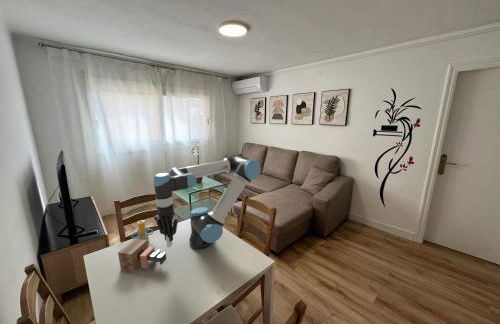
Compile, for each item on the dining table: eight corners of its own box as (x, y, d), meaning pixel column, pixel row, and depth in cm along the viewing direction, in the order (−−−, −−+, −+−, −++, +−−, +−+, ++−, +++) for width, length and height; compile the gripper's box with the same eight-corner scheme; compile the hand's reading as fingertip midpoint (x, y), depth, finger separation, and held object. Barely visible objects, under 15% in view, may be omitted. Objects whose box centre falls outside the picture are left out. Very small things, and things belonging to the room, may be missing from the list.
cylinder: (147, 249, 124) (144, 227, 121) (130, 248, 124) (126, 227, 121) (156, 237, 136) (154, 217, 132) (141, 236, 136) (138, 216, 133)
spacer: (155, 258, 114) (154, 247, 112) (146, 268, 107) (144, 256, 105) (150, 257, 115) (149, 246, 113) (141, 267, 107) (139, 255, 105)
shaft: (167, 259, 111) (166, 251, 110) (161, 266, 106) (160, 257, 105) (138, 254, 114) (137, 246, 113) (131, 261, 109) (130, 252, 108)
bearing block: (149, 256, 118) (147, 240, 115) (134, 272, 106) (131, 254, 103) (137, 254, 119) (134, 238, 116) (120, 270, 108) (117, 252, 105)
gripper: (181, 202, 102) (184, 242, 108) (158, 199, 104) (163, 239, 110) (172, 209, 95) (177, 252, 100) (148, 206, 97) (154, 248, 103)
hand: (169, 245), depth 105 cm, fingers closed
